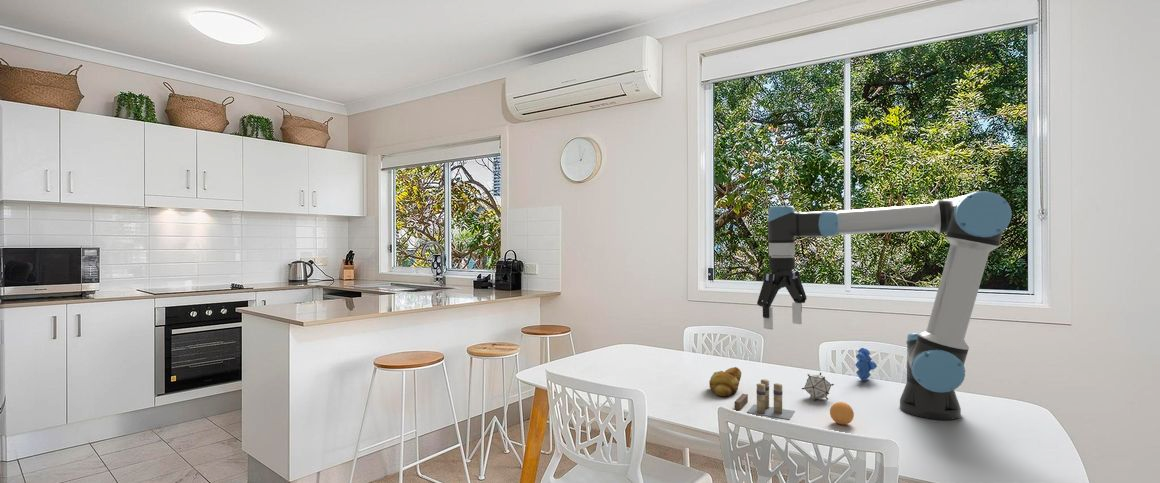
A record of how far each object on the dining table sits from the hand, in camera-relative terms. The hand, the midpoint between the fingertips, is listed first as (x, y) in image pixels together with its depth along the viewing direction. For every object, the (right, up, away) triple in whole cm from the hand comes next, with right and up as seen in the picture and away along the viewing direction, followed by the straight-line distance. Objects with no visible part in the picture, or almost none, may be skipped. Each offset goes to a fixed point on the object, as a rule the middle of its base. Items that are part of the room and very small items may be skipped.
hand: (782, 326), depth 166 cm
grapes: (+39, -24, +26) cm, 52 cm away
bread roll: (-14, -25, +15) cm, 32 cm away
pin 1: (-9, -25, -6) cm, 27 cm away
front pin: (-4, -25, -6) cm, 26 cm away
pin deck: (-5, -25, -5) cm, 26 cm away
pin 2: (-6, -25, -2) cm, 25 cm away
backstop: (-13, -25, +1) cm, 28 cm away
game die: (+14, -24, +7) cm, 29 cm away
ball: (+11, -22, -15) cm, 29 cm away
